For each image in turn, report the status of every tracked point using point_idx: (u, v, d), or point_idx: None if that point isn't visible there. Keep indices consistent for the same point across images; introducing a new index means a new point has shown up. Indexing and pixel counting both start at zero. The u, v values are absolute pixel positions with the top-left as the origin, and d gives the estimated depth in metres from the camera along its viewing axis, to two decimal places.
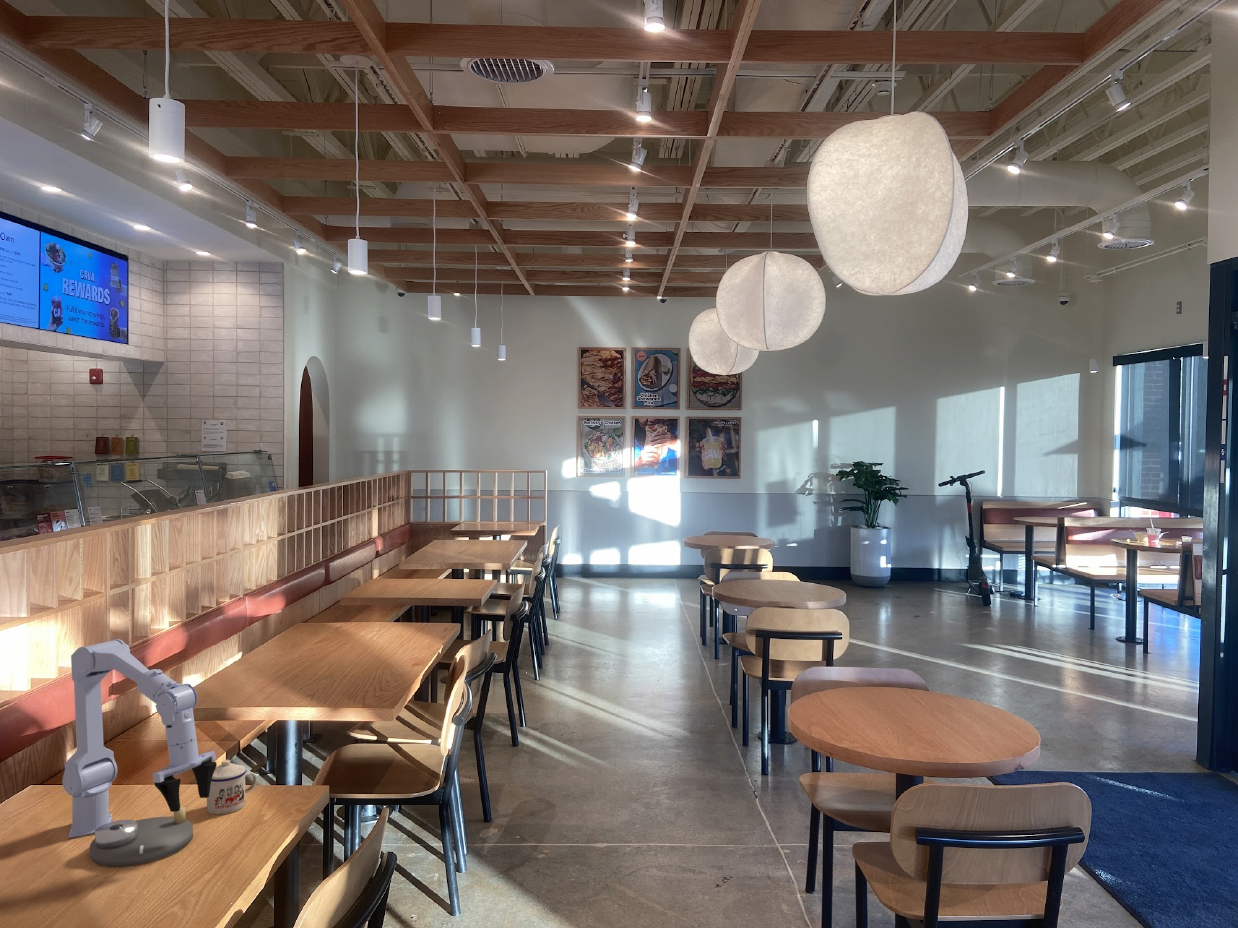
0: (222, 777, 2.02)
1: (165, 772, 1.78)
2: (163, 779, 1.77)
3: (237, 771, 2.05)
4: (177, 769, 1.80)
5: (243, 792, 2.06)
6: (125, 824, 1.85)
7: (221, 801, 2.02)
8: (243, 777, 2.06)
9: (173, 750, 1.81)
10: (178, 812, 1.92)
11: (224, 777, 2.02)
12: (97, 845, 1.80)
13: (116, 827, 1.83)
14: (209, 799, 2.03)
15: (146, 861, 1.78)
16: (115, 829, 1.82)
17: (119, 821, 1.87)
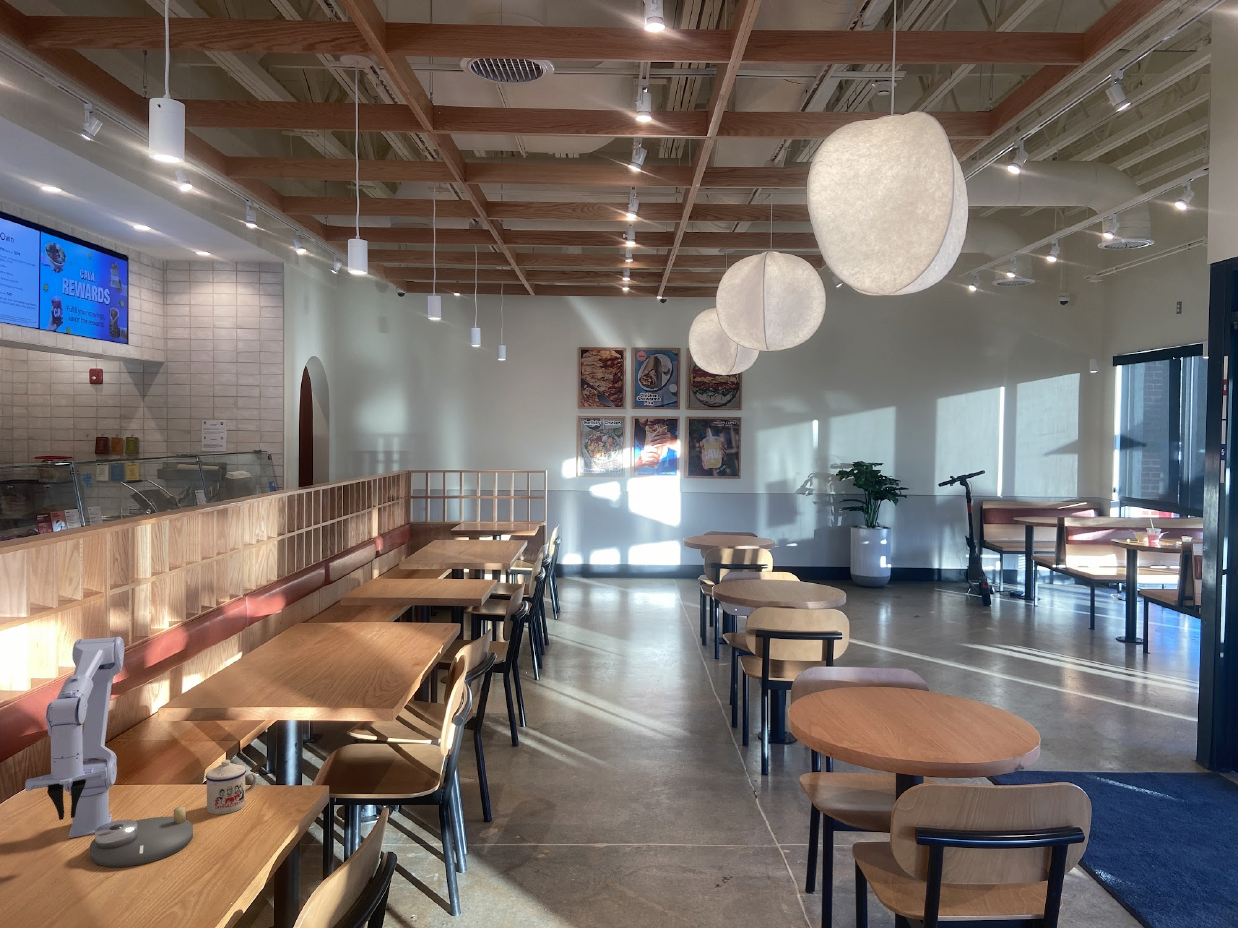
0: (222, 777, 2.02)
1: (33, 782, 1.75)
2: (30, 788, 1.75)
3: (237, 771, 2.05)
4: (46, 782, 1.76)
5: (243, 792, 2.06)
6: (125, 824, 1.85)
7: (221, 801, 2.02)
8: (243, 777, 2.06)
9: (51, 761, 1.77)
10: (178, 812, 1.92)
11: (224, 777, 2.02)
12: (97, 845, 1.80)
13: (116, 827, 1.83)
14: (209, 799, 2.03)
15: (146, 861, 1.78)
16: (115, 830, 1.82)
17: (119, 821, 1.87)
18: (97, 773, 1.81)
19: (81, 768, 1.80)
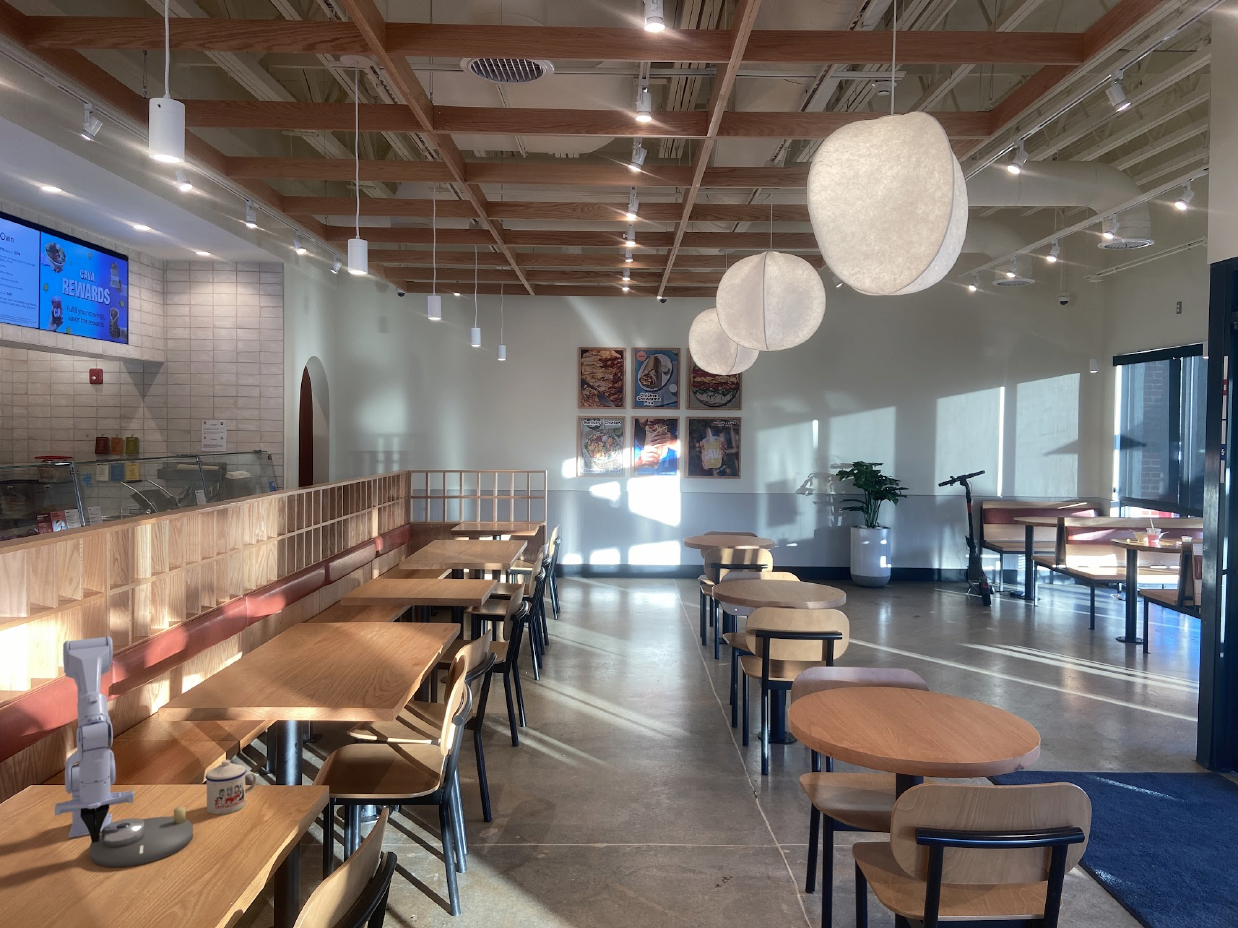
0: (222, 777, 2.02)
1: (62, 807, 1.78)
2: (60, 813, 1.78)
3: (237, 771, 2.05)
4: (74, 807, 1.78)
5: (243, 792, 2.06)
6: (131, 823, 1.85)
7: (221, 801, 2.02)
8: (243, 777, 2.06)
9: (79, 786, 1.80)
10: (178, 812, 1.92)
11: (224, 777, 2.02)
12: (104, 844, 1.81)
13: (123, 826, 1.84)
14: (209, 799, 2.03)
15: (146, 861, 1.78)
16: (122, 828, 1.83)
17: (126, 820, 1.87)
18: (124, 797, 1.83)
19: (109, 792, 1.82)
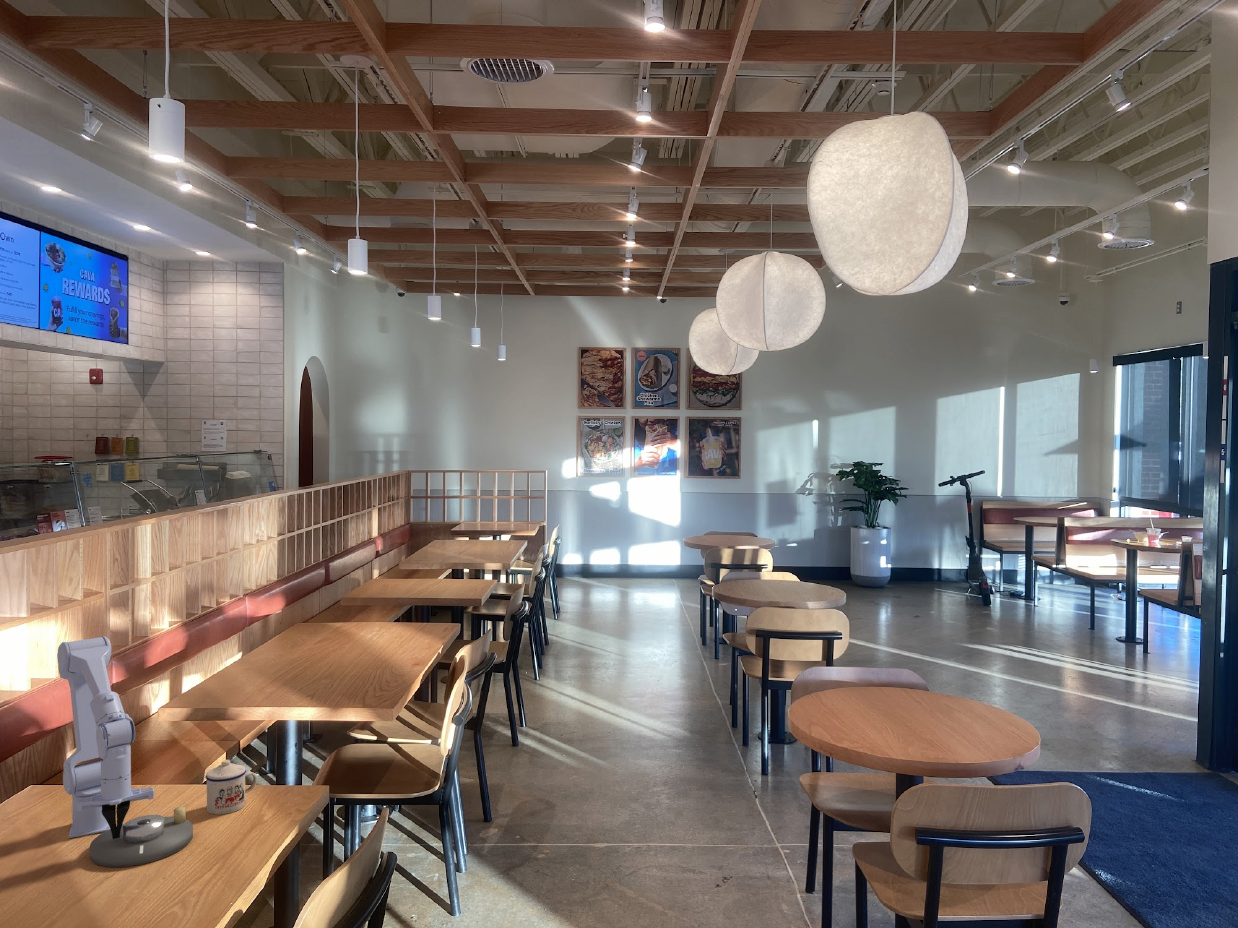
0: (222, 777, 2.02)
1: (84, 803, 1.80)
2: (81, 809, 1.80)
3: (237, 771, 2.05)
4: (96, 803, 1.80)
5: (243, 792, 2.06)
6: (152, 819, 1.87)
7: (221, 801, 2.02)
8: (243, 777, 2.06)
9: (100, 782, 1.82)
10: (178, 812, 1.92)
11: (224, 777, 2.02)
12: (125, 840, 1.83)
13: (143, 822, 1.86)
14: (209, 799, 2.03)
15: (146, 861, 1.78)
16: (143, 824, 1.85)
17: (146, 816, 1.89)
18: (145, 793, 1.85)
19: (129, 789, 1.84)
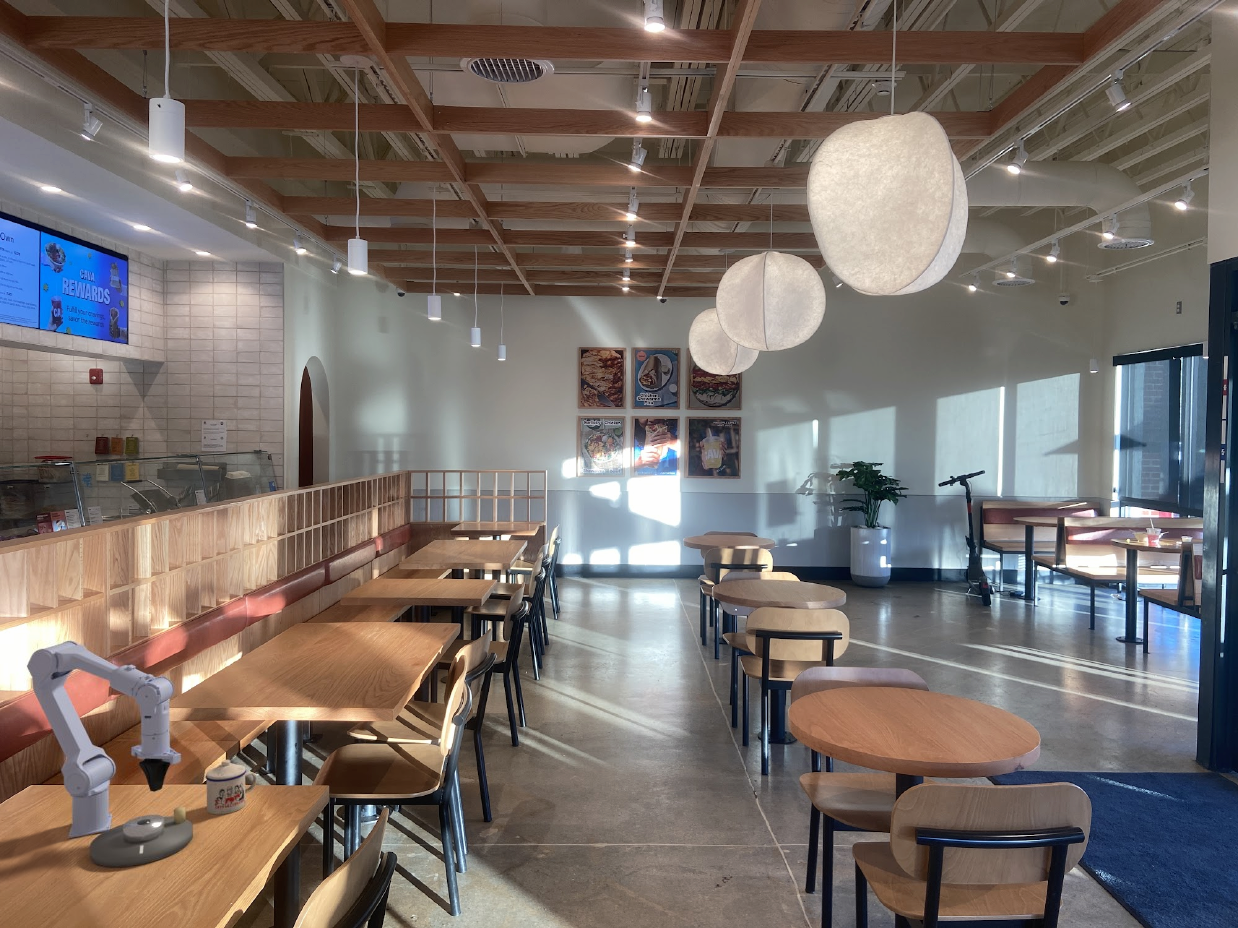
0: (222, 777, 2.02)
1: (134, 749, 1.95)
2: (134, 754, 1.96)
3: (237, 771, 2.05)
4: (137, 753, 1.93)
5: (243, 792, 2.06)
6: (152, 819, 1.87)
7: (221, 801, 2.02)
8: (243, 777, 2.06)
9: None
10: (178, 812, 1.92)
11: (224, 777, 2.02)
12: (125, 840, 1.83)
13: (144, 822, 1.86)
14: (209, 799, 2.03)
15: (146, 861, 1.78)
16: (143, 824, 1.85)
17: (146, 816, 1.89)
18: (167, 757, 1.90)
19: (160, 748, 1.92)
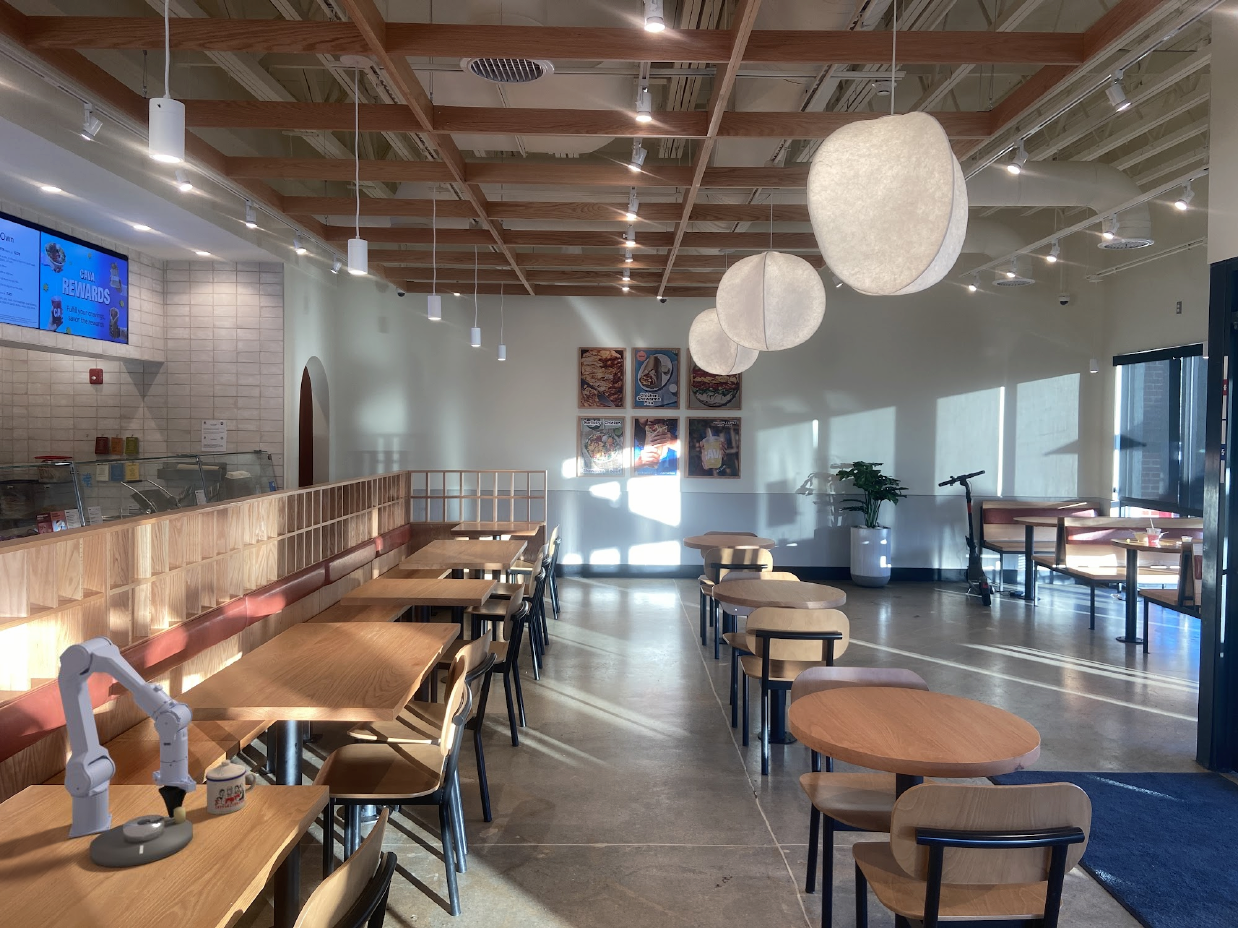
0: (222, 777, 2.02)
1: (155, 774, 1.96)
2: (155, 779, 1.97)
3: (237, 771, 2.05)
4: (157, 778, 1.94)
5: (243, 792, 2.06)
6: (152, 819, 1.87)
7: (221, 801, 2.02)
8: (243, 777, 2.06)
9: None
10: (178, 812, 1.92)
11: (224, 777, 2.02)
12: (125, 840, 1.83)
13: (144, 822, 1.86)
14: (209, 799, 2.03)
15: (146, 861, 1.78)
16: (143, 824, 1.85)
17: (146, 816, 1.89)
18: (183, 785, 1.90)
19: (177, 775, 1.92)
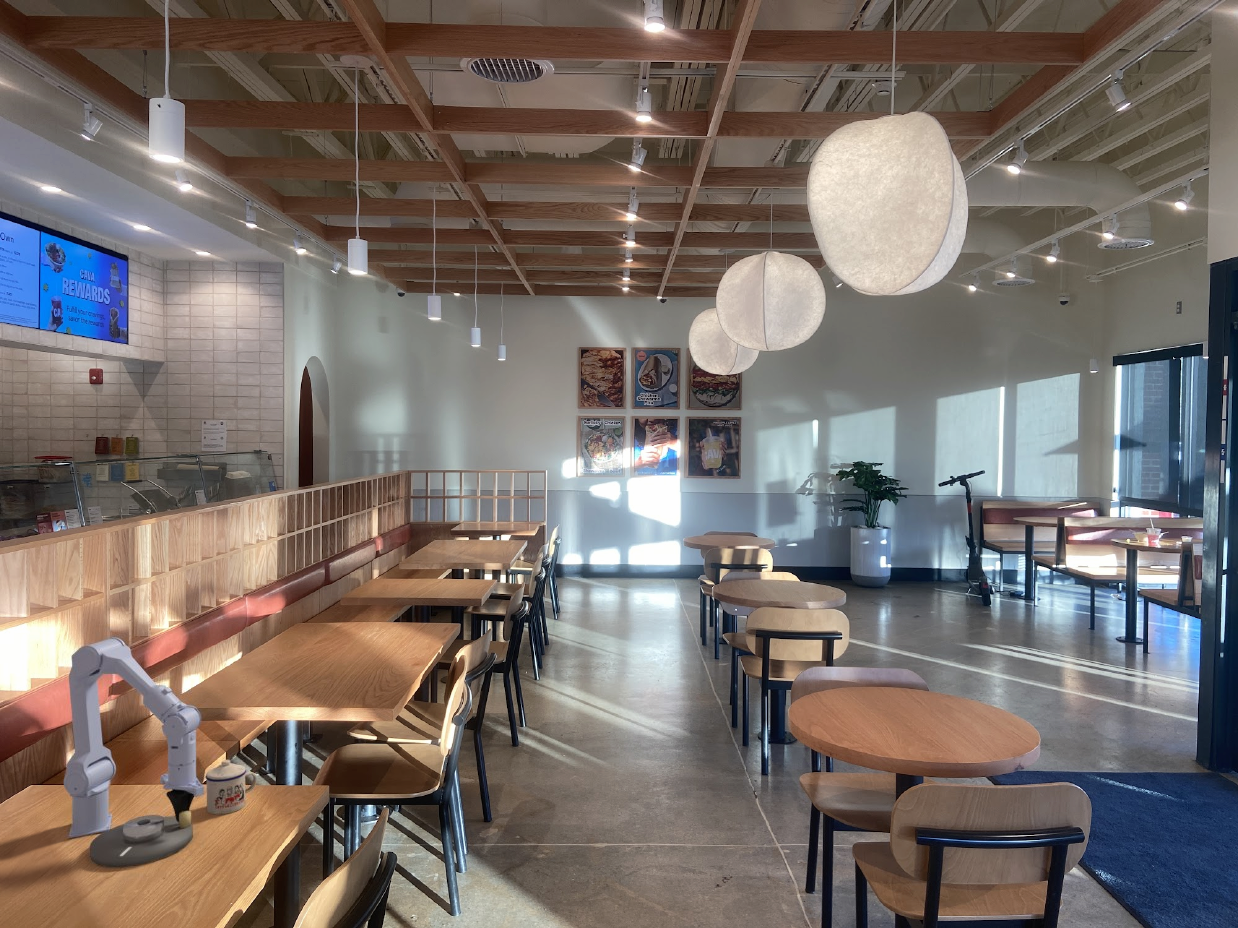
0: (222, 777, 2.02)
1: (163, 778, 1.94)
2: (162, 783, 1.95)
3: (237, 771, 2.05)
4: (165, 782, 1.93)
5: (243, 792, 2.06)
6: (152, 821, 1.87)
7: (221, 801, 2.02)
8: (243, 777, 2.06)
9: None
10: (181, 816, 1.90)
11: (224, 777, 2.02)
12: (123, 837, 1.84)
13: (142, 822, 1.86)
14: (209, 799, 2.03)
15: (124, 865, 1.76)
16: (140, 825, 1.84)
17: (152, 816, 1.89)
18: (191, 789, 1.88)
19: (185, 779, 1.90)
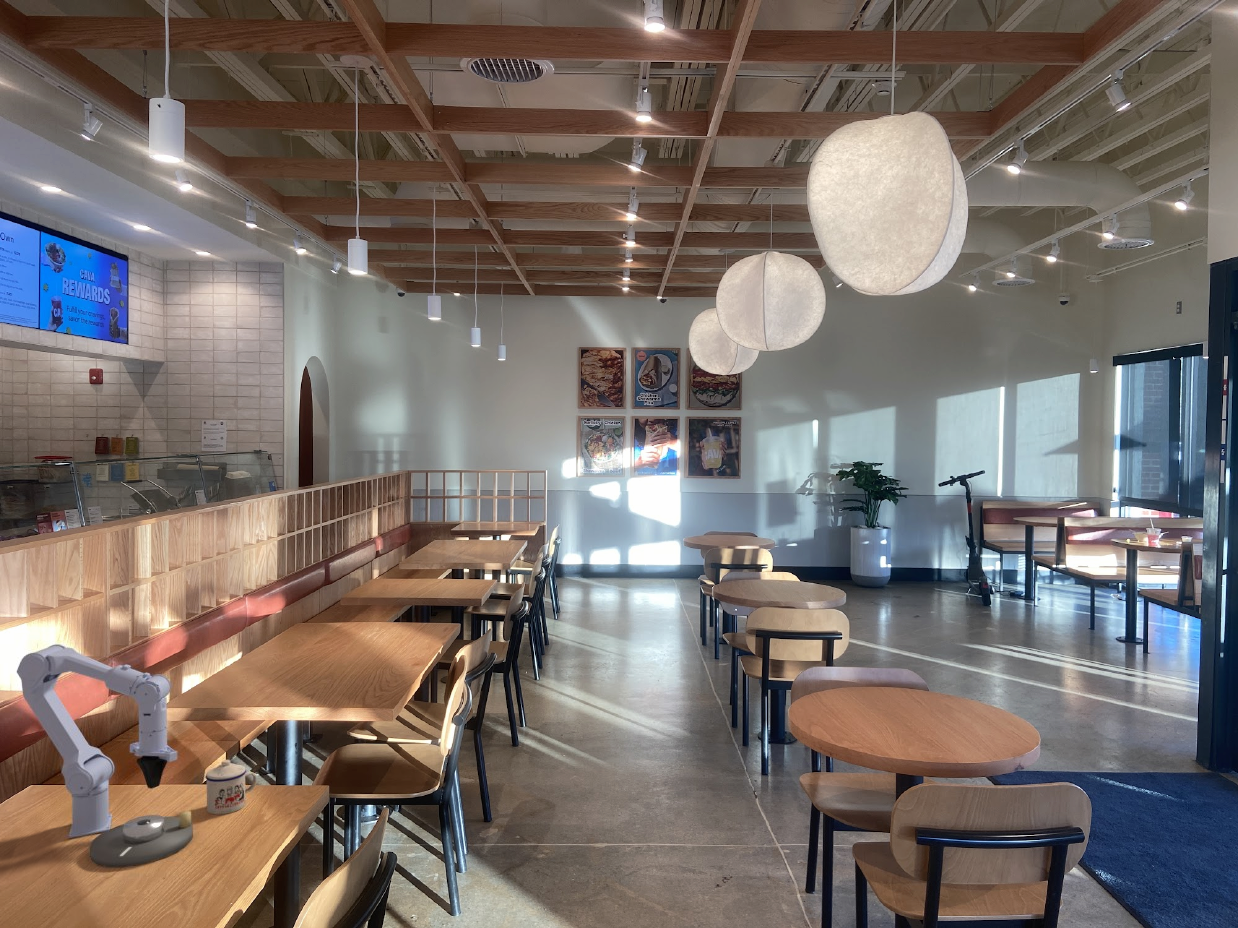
0: (222, 777, 2.02)
1: (132, 746, 1.97)
2: (132, 751, 1.98)
3: (237, 771, 2.05)
4: (135, 750, 1.95)
5: (243, 792, 2.06)
6: (152, 821, 1.87)
7: (221, 801, 2.02)
8: (243, 777, 2.06)
9: None
10: (181, 816, 1.90)
11: (224, 777, 2.02)
12: (123, 837, 1.84)
13: (142, 822, 1.86)
14: (209, 799, 2.03)
15: (124, 865, 1.76)
16: (140, 825, 1.84)
17: (152, 816, 1.89)
18: (163, 754, 1.92)
19: (157, 746, 1.94)
